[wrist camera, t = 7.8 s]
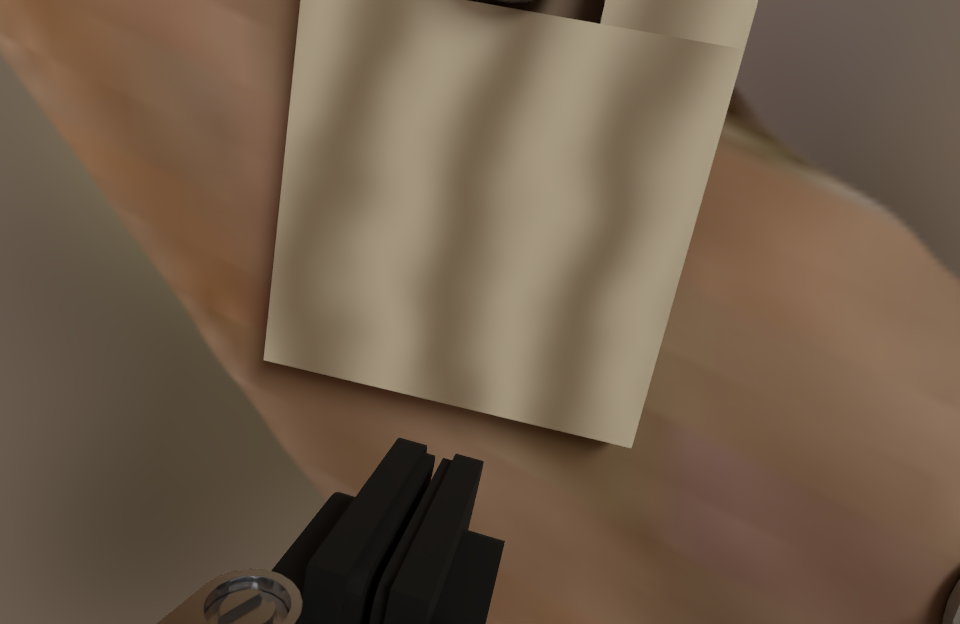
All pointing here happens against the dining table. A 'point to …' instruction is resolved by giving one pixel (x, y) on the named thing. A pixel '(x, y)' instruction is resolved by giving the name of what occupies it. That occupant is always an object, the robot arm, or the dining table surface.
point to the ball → (516, 1)
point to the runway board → (497, 199)
